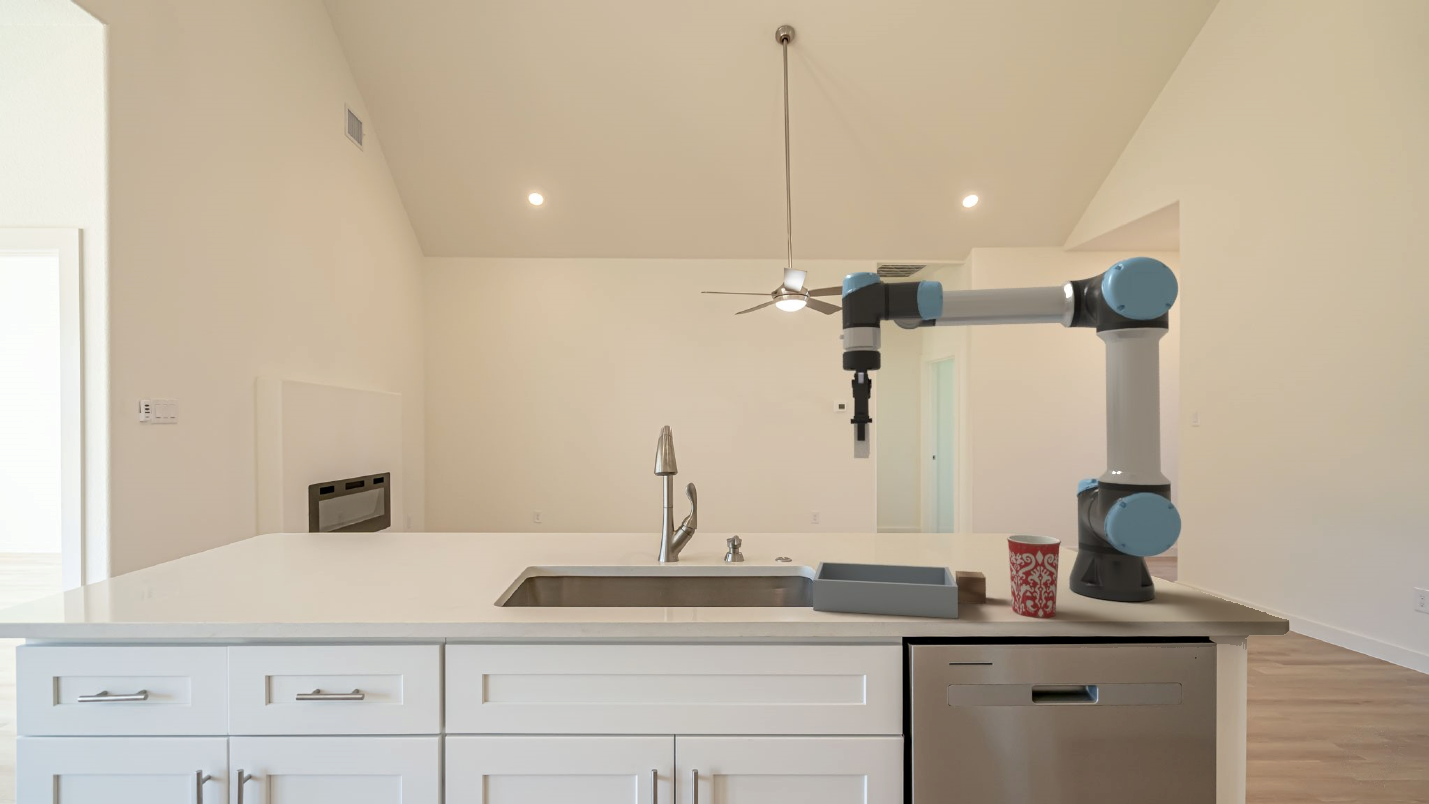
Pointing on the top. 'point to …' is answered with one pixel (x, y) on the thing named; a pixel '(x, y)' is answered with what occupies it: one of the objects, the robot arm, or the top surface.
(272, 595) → the top surface
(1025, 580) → the mug
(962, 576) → the cube
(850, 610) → the tote
